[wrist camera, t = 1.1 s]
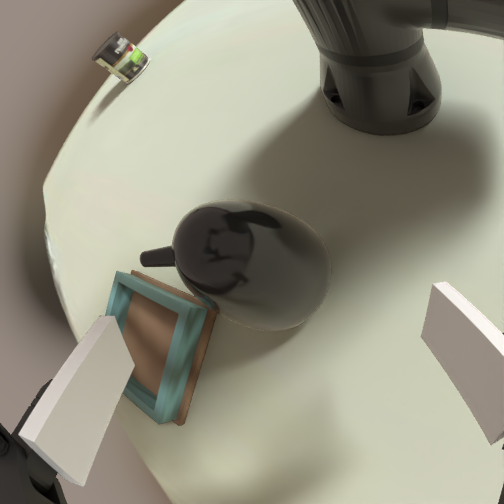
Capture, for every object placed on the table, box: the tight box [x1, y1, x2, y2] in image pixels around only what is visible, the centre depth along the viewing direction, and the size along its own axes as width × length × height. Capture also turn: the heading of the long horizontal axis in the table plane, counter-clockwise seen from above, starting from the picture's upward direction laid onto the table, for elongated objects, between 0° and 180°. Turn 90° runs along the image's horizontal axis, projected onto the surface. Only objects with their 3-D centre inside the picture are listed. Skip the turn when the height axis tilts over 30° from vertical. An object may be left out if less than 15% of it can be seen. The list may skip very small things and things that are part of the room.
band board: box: [105, 270, 217, 425], centre depth 33 cm, size 16×16×4 cm
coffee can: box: [92, 32, 150, 84], centre depth 58 cm, size 10×10×14 cm
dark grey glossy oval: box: [140, 199, 331, 331], centre depth 22 cm, size 10×10×15 cm
